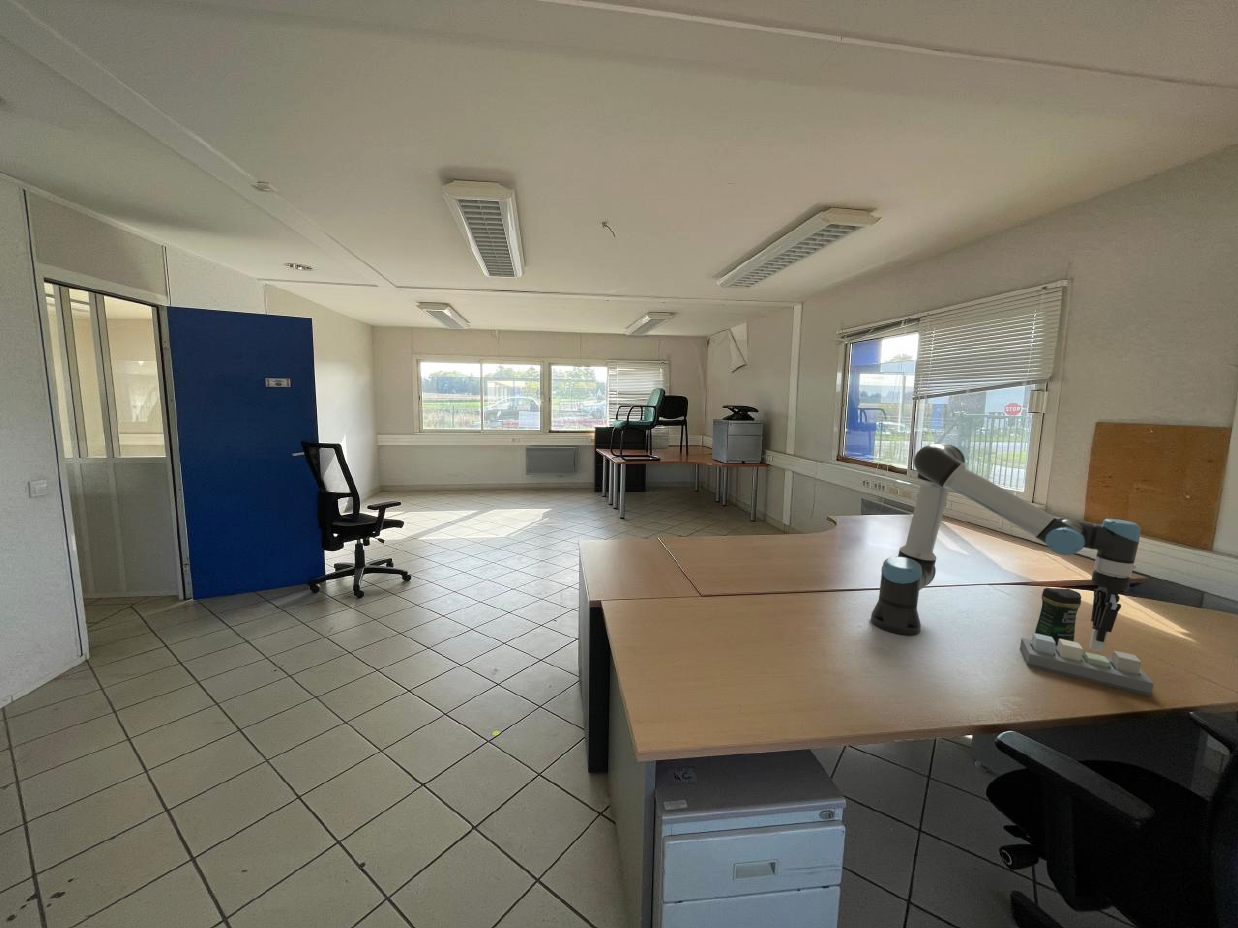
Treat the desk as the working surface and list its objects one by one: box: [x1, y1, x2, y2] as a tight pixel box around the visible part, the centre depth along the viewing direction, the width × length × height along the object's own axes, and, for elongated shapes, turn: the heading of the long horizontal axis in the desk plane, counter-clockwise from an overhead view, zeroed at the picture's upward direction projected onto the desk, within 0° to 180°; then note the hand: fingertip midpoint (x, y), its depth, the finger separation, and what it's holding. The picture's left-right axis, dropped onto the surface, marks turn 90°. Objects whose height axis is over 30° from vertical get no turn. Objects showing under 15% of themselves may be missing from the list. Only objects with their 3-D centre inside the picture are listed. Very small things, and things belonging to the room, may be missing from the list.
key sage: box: [1083, 651, 1110, 668], centre depth 138 cm, size 4×4×4 cm
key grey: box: [1111, 650, 1142, 675], centre depth 134 cm, size 4×4×4 cm
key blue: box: [1031, 632, 1056, 655], centre depth 144 cm, size 4×4×4 cm
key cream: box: [1057, 639, 1084, 661], centre depth 141 cm, size 4×4×4 cm
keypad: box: [1019, 637, 1155, 698], centre depth 140 cm, size 26×12×4 cm, turn 58°
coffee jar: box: [1034, 587, 1082, 646], centre depth 157 cm, size 10×8×19 cm
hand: (1095, 649), depth 138 cm, fingers closed
